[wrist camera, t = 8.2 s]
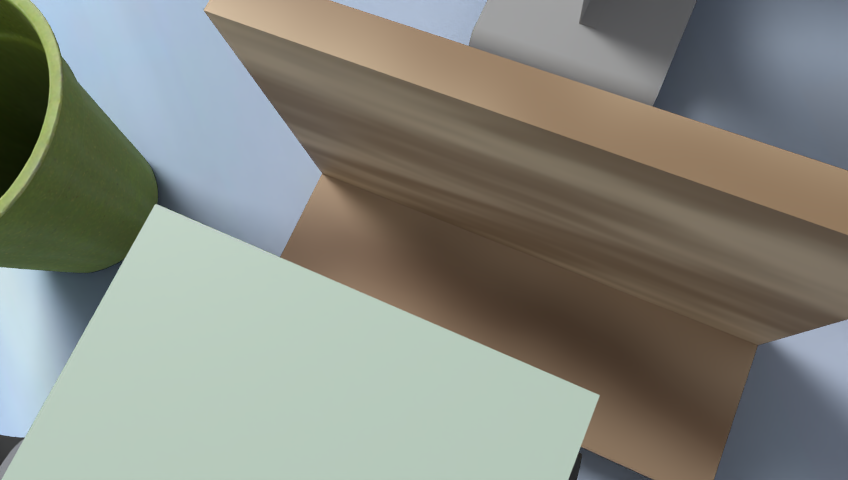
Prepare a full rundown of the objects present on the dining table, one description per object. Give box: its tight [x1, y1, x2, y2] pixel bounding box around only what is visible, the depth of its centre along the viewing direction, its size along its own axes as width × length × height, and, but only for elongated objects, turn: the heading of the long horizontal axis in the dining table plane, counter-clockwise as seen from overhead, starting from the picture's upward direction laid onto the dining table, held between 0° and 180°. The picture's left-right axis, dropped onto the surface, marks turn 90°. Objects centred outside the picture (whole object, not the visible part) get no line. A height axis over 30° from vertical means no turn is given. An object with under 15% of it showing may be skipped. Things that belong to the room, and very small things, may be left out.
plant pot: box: [0, 0, 158, 273], centre depth 28 cm, size 12×12×11 cm
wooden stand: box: [204, 0, 848, 480], centre depth 23 cm, size 8×20×15 cm, turn 66°
